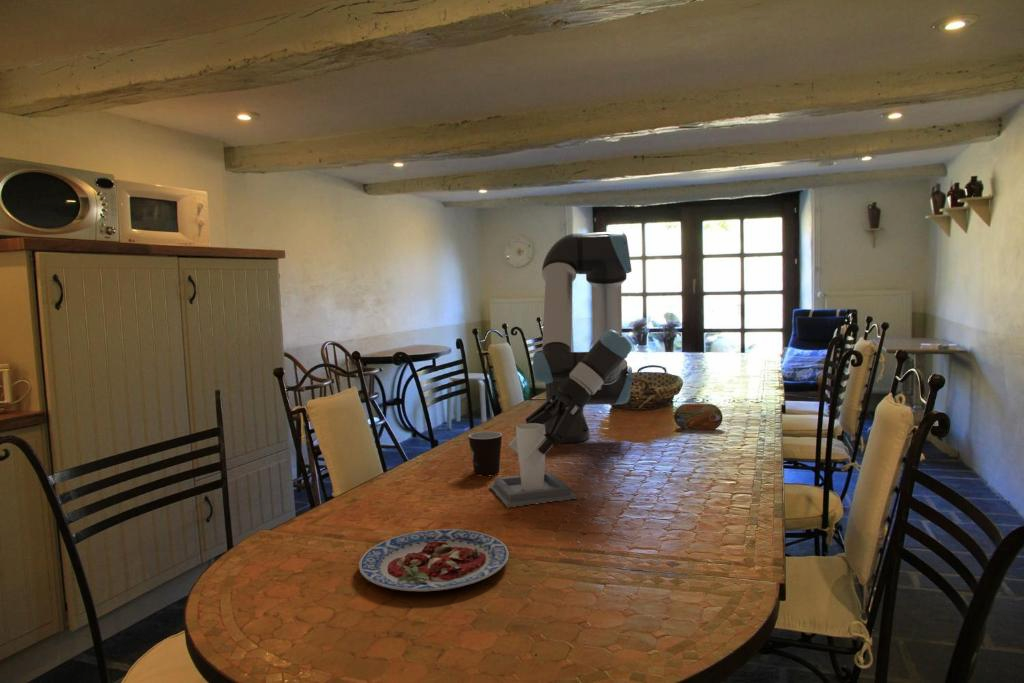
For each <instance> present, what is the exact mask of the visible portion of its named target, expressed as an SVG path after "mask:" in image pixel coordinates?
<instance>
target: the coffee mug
mask: <svg viewBox="0 0 1024 683" xmlns="http://www.w3.org/2000/svg"><path fill="white" fill-rule="evenodd" d="M502 436H503V434H502V433H501V432H497V431H478V432H473V433H470V434H469V435H468V442H469V447H470V448H469V449H470V453H471V459H472V460H471V461H472V466H473V473H475V474H476V475H482V476H488V477H490V476H489V475H494V476H496V475H495V474H497V473H500V464H501V452H502V451H501V450H502V440H503V439H502V438H503V437H502ZM475 474H474V475H475ZM476 475H475V476H476ZM497 475H498V474H497ZM482 476H481V477H482Z"/></svg>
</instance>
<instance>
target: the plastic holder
mask: <svg viewBox="0 0 1024 683" xmlns="http://www.w3.org/2000/svg"><path fill="white" fill-rule="evenodd" d="M489 488H490V489H492V490H493V491H494V492H495V493H496V494H495V493H494V492H493V491H492V490H491V491H492V492H493V493H494V494H495V496H498V497H499V498H500V499H501V500H502V501H501V500H500V499H499V498H498V497H497V498H498V499H499V500H500V501H501V502H502V504H503V503H504V504H505V505H506V506H507V507H513V508H515V507H514V506H521V507H523V506H522V505H529V504H536V503H543V502H551V501H560V500H569V499H576V500H577V494H575V493H574V492H572V490H571V487H570V486H568V485H567V484H566V483H565V482H564V481H562V480H560V479H559V478H558V477H557V476H556V475H554V474H553V473H552V472H550V471H547V472H545V471H544V489H539V490H531V491H523V490H522V489H521V477H520V474H519V475H511V476H502V477H495V478H494V482H491V483H489ZM569 501H570V500H569ZM504 504H503V505H504ZM505 505H504V506H505ZM506 506H505V507H506ZM529 506H530V505H529ZM507 507H506V508H507Z"/></svg>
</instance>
